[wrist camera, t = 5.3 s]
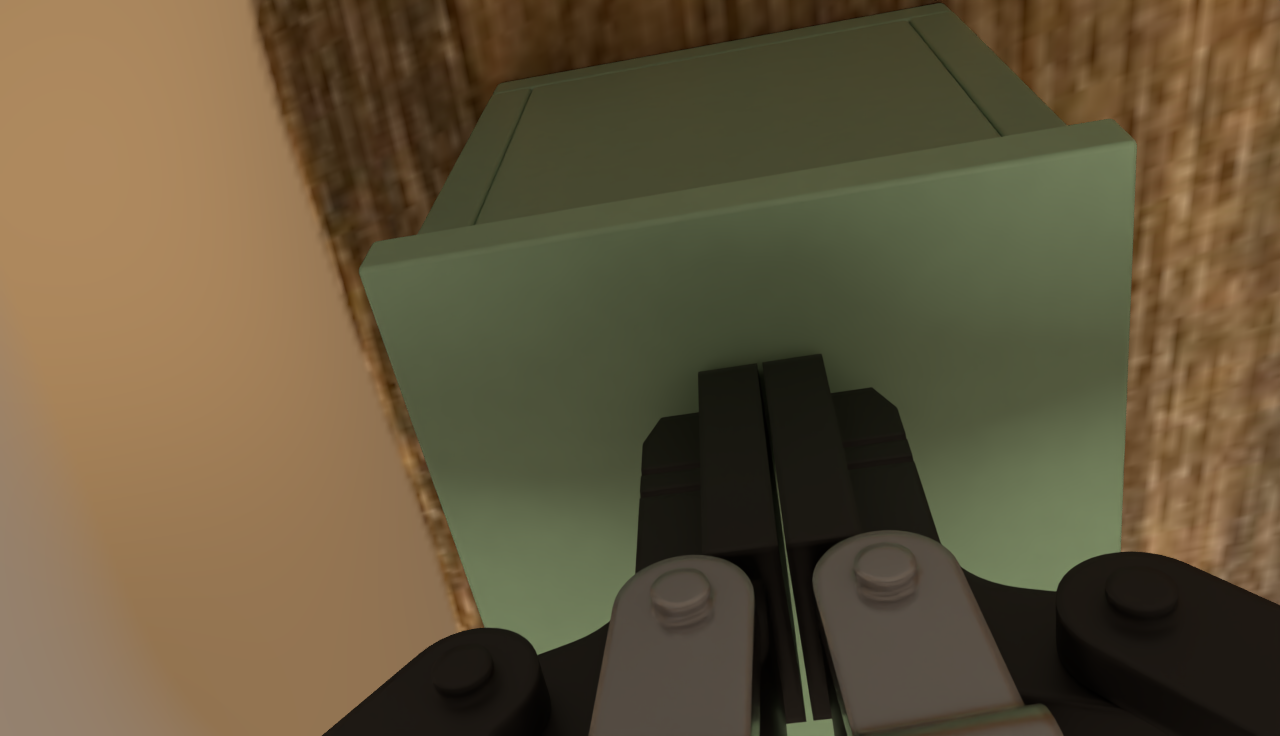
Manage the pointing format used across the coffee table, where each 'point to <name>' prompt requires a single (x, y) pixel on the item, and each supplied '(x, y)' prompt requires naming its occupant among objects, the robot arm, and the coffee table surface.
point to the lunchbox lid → (777, 354)
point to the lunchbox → (734, 115)
